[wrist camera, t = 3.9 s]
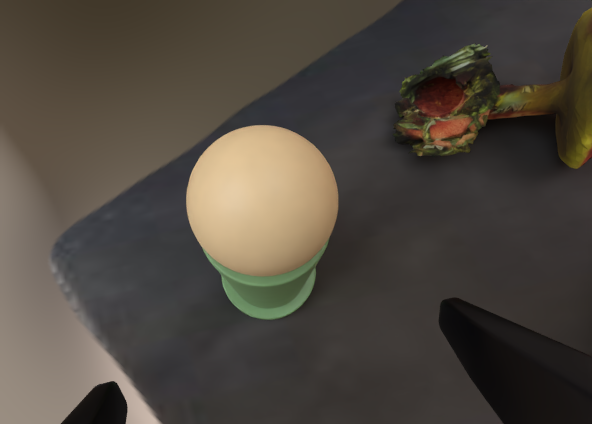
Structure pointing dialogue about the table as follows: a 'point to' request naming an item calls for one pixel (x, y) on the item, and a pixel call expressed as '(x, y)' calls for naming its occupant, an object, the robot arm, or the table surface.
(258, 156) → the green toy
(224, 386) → the table surface
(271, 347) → the table surface
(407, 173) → the table surface
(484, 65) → the mushroom
